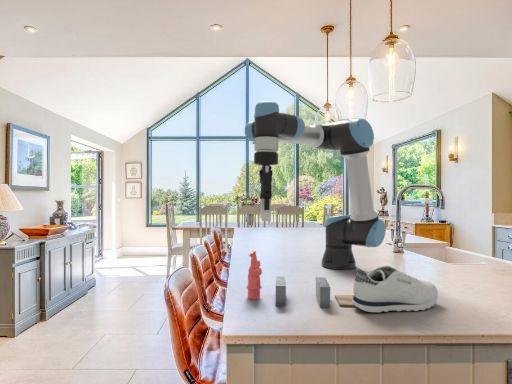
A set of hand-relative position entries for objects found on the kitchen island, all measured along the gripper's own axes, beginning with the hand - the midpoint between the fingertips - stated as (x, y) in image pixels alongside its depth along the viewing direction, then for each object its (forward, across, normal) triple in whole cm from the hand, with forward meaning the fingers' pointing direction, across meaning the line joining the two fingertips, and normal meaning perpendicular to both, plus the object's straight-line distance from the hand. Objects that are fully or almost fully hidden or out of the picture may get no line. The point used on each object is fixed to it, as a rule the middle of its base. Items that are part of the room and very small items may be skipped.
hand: (265, 219), depth 115 cm
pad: (+25, +2, +28) cm, 37 cm away
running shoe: (+25, +8, +39) cm, 47 cm away
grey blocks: (+25, +1, +12) cm, 28 cm away
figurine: (+25, -2, -3) cm, 26 cm away
